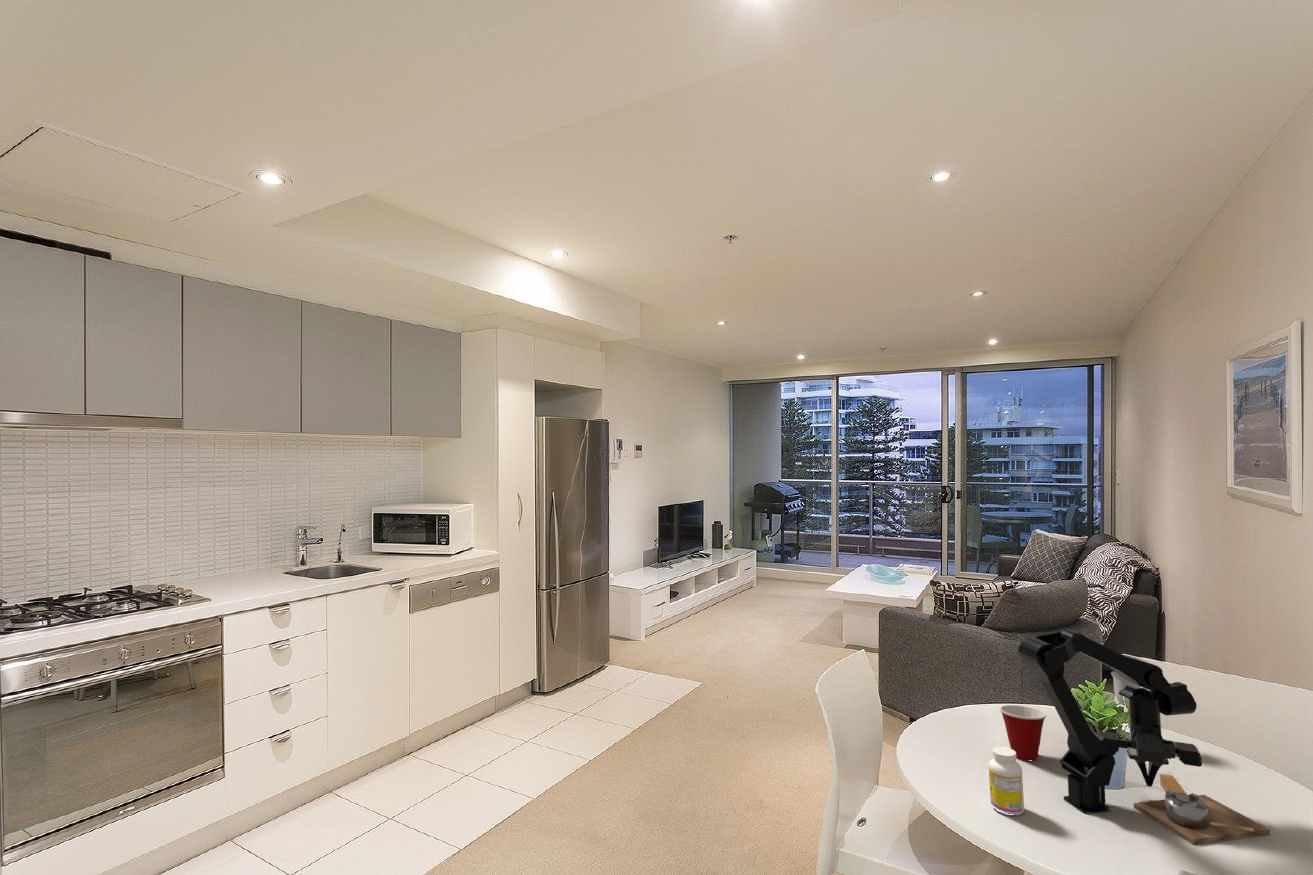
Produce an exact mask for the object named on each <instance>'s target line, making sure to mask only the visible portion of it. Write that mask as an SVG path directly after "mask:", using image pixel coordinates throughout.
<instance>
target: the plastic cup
mask: <svg viewBox="0 0 1313 875" xmlns="http://www.w3.org/2000/svg"><path fill="white" fill-rule="evenodd" d="M999 711H1000V713H1001V715H1002V718H1003V722H1004V725H1005V729H1006V734H1007V740H1008V743H1009V746H1010V749H1012V750H1014V751H1015V752H1016V757H1017V758H1019V759H1018V760H1020V759H1023V760H1022V761H1024V760H1032V761H1031V762H1034V761H1036V760H1037V759H1038V756H1039V751H1040V746H1041V739H1042V738H1041V737H1042V733H1043V732H1042V730H1043V726H1044V722H1045V719H1046V717H1047V713H1046V711H1043V710H1040V709H1038V708H1034V707H1032V706H1031V707H1030V706H1025V705H1018V704H1005V705H1001V706H1000V707H999ZM1017 758H1016V759H1017ZM1033 760H1034V761H1033Z"/></svg>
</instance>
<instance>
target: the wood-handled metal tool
mask: <svg viewBox="0 0 1313 875" xmlns="http://www.w3.org/2000/svg"><path fill="white" fill-rule="evenodd" d="M1159 779H1160V780H1159V781H1160V782H1159V783H1160V787H1161V788H1162V789H1163V791H1164V792H1165V795H1164V799H1165V806H1166V816H1167V817H1168V818H1169V819H1170V820H1172V821H1174V822H1176V823H1178V824H1180V825H1183V826H1187V827H1191V828H1206V827H1208V825H1209V823H1208V806H1207V804H1206V803H1205V802H1204V801H1202V800H1201V799H1199V796H1198V795H1199V794H1196V793H1193V792H1191V793H1189V794H1187V793H1186V791H1185V790H1184V789H1183V787H1182V785H1180V783H1179V782H1178V781H1177V779H1176V778H1175V777H1174V775H1172V774H1171V775H1170V774H1162V773H1160V774H1159Z"/></svg>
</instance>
